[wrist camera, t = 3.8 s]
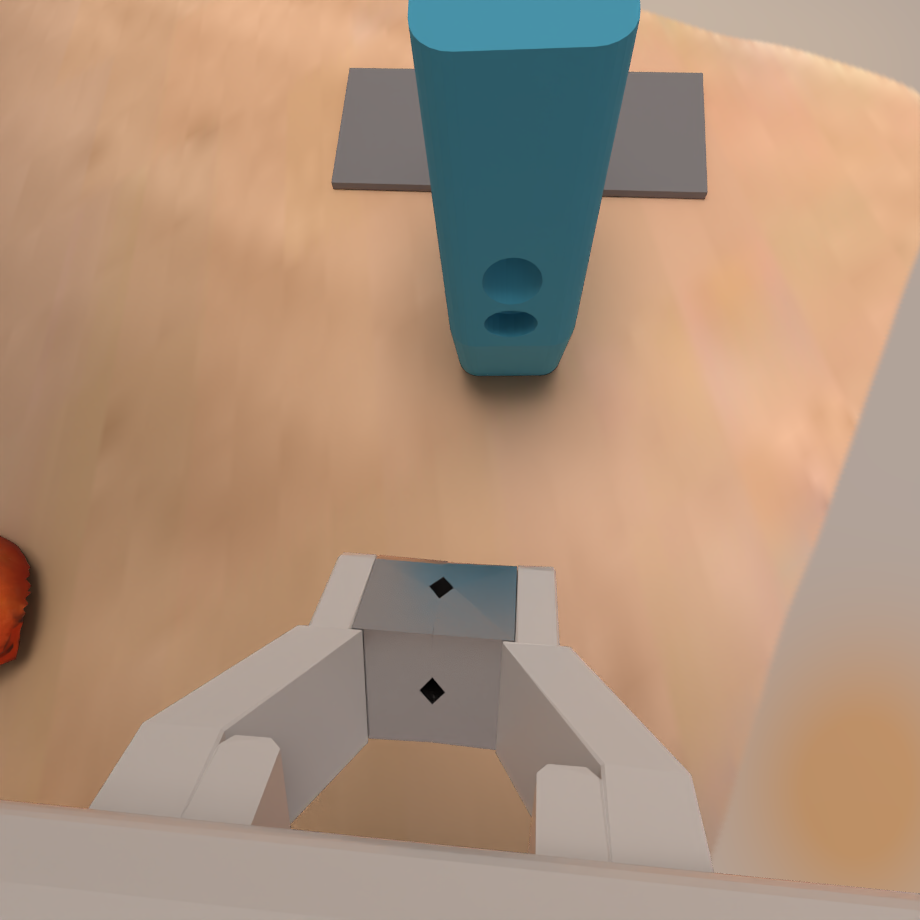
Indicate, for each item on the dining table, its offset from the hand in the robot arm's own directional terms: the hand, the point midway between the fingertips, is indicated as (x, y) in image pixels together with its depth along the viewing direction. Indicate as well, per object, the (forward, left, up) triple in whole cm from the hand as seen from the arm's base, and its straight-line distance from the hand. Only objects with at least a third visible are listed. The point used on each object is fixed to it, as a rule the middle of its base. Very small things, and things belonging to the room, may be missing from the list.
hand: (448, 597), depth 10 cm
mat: (0, +28, -21) cm, 35 cm away
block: (0, +18, -21) cm, 28 cm away
